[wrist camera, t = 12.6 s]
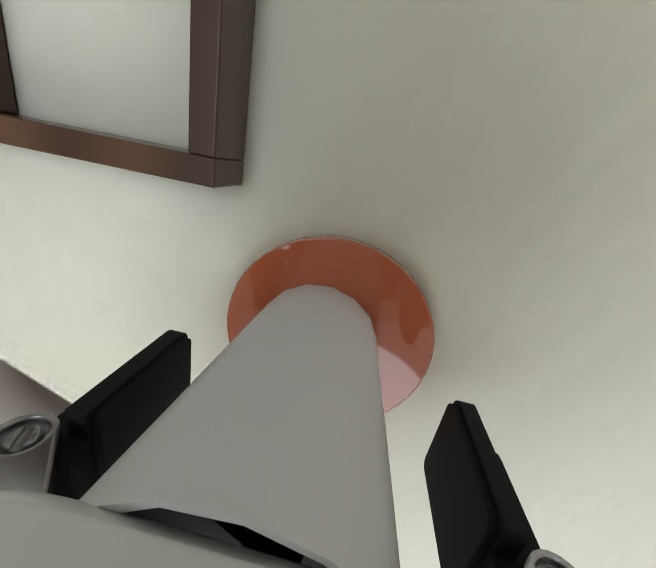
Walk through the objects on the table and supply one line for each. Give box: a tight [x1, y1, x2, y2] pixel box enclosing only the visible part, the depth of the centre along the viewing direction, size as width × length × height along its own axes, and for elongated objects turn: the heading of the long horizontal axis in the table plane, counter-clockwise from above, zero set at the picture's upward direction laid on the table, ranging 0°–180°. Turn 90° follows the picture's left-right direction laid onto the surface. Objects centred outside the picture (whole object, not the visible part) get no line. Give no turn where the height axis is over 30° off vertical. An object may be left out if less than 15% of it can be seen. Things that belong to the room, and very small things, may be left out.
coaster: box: [227, 235, 434, 412], centre depth 15 cm, size 10×10×1 cm
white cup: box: [79, 284, 400, 568], centre depth 10 cm, size 7×7×10 cm
